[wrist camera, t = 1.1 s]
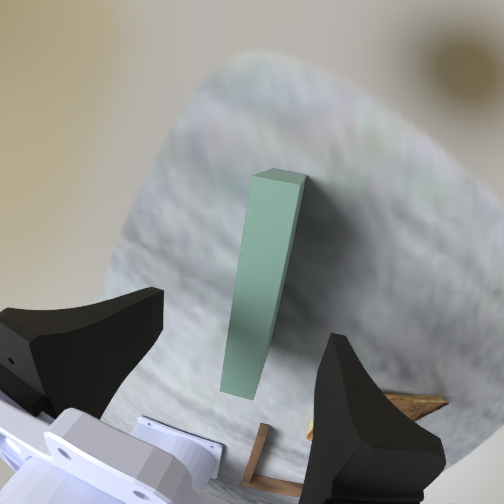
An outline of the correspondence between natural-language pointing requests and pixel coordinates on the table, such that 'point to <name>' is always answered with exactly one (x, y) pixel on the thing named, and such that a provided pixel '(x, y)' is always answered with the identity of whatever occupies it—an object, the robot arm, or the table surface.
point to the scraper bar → (260, 276)
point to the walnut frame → (265, 482)
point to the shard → (407, 407)
